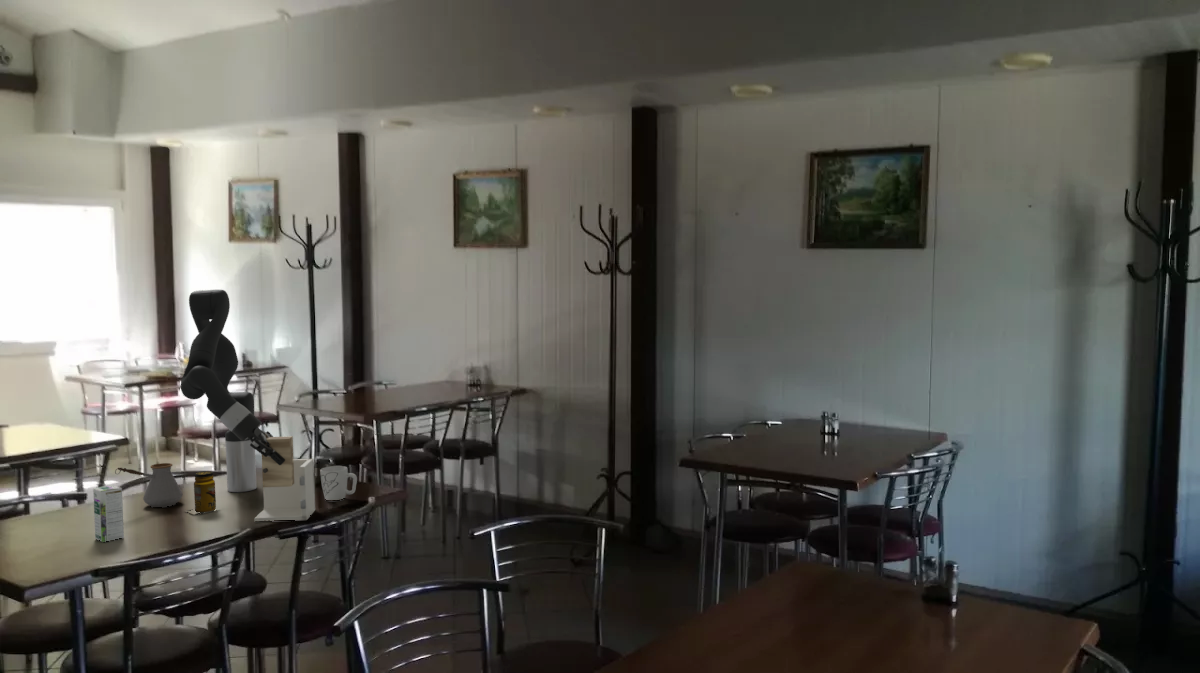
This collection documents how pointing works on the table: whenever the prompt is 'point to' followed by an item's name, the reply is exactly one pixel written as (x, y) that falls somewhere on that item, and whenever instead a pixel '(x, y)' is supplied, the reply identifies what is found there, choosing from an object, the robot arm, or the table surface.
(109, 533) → the syrup box
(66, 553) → the table surface
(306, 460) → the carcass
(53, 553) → the table surface
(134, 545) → the table surface
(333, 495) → the mug
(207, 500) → the condiment
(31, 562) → the table surface
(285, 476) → the door
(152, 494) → the coffee pot
